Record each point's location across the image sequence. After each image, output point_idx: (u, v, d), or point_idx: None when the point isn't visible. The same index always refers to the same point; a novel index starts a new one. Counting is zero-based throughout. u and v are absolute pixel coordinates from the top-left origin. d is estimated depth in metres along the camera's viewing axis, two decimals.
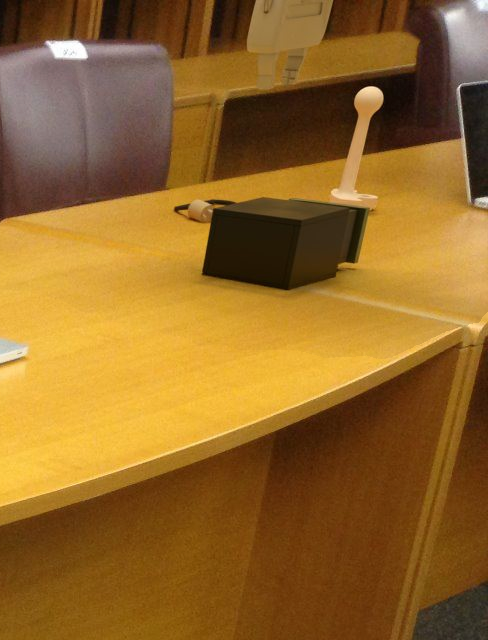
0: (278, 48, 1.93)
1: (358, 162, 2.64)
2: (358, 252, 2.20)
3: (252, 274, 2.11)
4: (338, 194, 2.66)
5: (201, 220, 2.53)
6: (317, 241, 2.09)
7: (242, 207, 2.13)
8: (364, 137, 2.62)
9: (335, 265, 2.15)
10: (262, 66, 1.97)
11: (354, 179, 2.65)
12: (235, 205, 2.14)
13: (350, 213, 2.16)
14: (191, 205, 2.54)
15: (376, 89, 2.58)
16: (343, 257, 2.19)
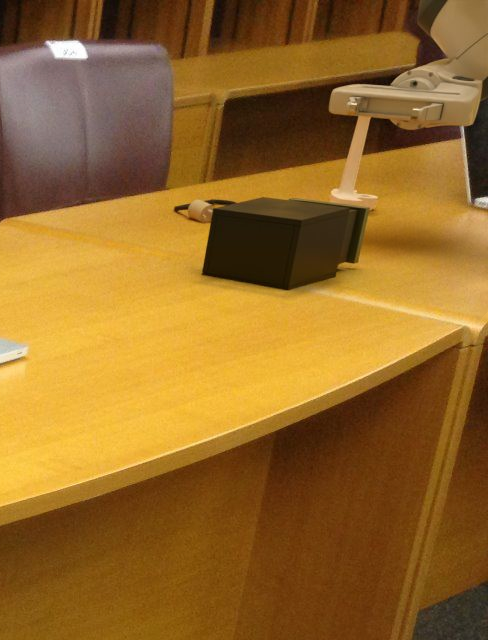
0: (344, 89, 2.33)
1: (358, 162, 2.64)
2: (358, 252, 2.20)
3: (252, 274, 2.11)
4: (338, 194, 2.66)
5: (201, 220, 2.53)
6: (317, 241, 2.09)
7: (242, 207, 2.13)
8: (364, 137, 2.62)
9: (335, 265, 2.15)
10: None
11: (354, 179, 2.65)
12: (235, 205, 2.14)
13: (350, 213, 2.16)
14: (191, 205, 2.54)
15: None
16: (343, 257, 2.19)
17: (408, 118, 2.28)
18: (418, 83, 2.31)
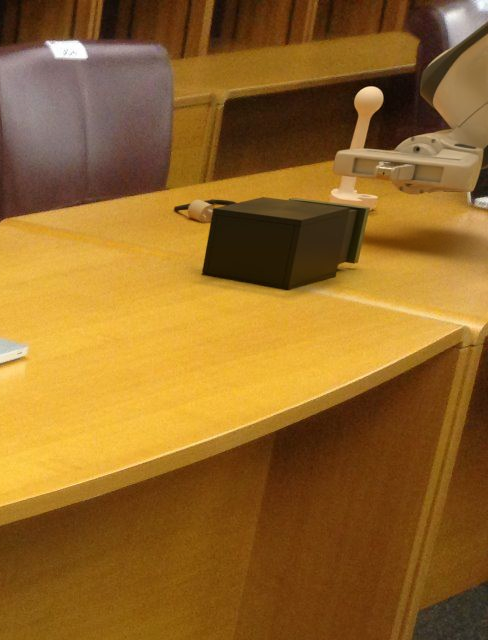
0: (348, 152, 2.39)
1: None
2: (358, 252, 2.20)
3: (252, 274, 2.11)
4: (338, 194, 2.66)
5: (201, 220, 2.53)
6: (317, 241, 2.09)
7: (242, 207, 2.13)
8: (364, 137, 2.62)
9: (335, 265, 2.15)
10: None
11: (354, 179, 2.65)
12: (235, 205, 2.14)
13: (350, 213, 2.16)
14: (191, 205, 2.54)
15: (376, 89, 2.58)
16: (343, 257, 2.19)
17: (409, 181, 2.33)
18: (421, 149, 2.36)
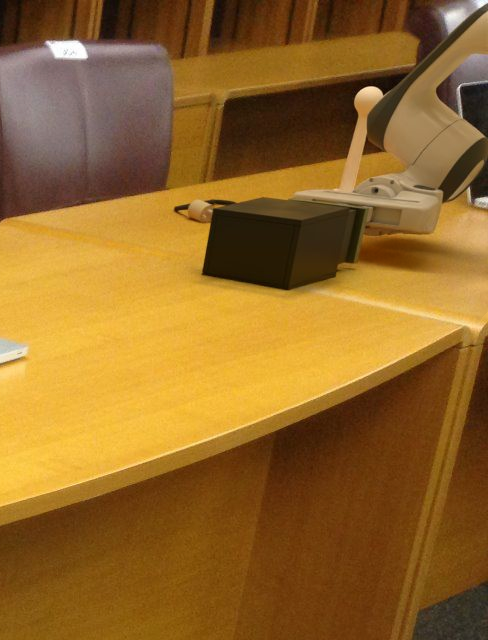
0: (305, 193, 2.33)
1: (358, 162, 2.64)
2: (357, 252, 2.20)
3: (252, 274, 2.11)
4: None
5: (201, 220, 2.53)
6: (317, 241, 2.09)
7: (242, 207, 2.13)
8: (364, 137, 2.62)
9: (335, 265, 2.15)
10: None
11: (354, 179, 2.65)
12: (235, 205, 2.14)
13: (349, 213, 2.16)
14: (191, 205, 2.54)
15: (376, 89, 2.58)
16: (342, 257, 2.19)
17: (367, 223, 2.27)
18: (379, 190, 2.30)
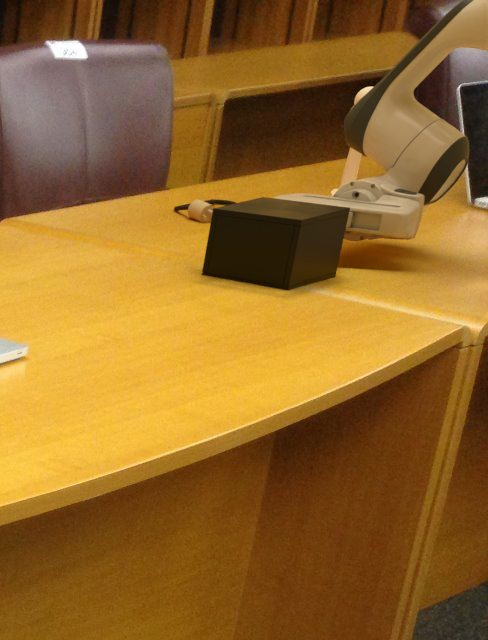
0: (284, 197, 2.29)
1: (358, 162, 2.64)
2: None
3: (252, 274, 2.11)
4: None
5: (201, 220, 2.53)
6: (317, 241, 2.09)
7: (242, 207, 2.13)
8: None
9: (335, 265, 2.15)
10: None
11: (354, 179, 2.65)
12: (235, 205, 2.14)
13: None
14: (191, 205, 2.54)
15: None
16: None
17: (347, 228, 2.23)
18: (360, 194, 2.26)
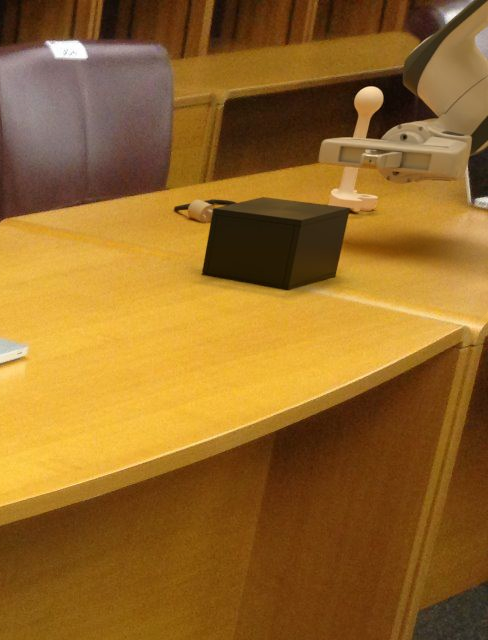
0: (334, 140, 2.34)
1: None
2: None
3: (252, 274, 2.11)
4: (338, 194, 2.66)
5: (201, 220, 2.53)
6: (317, 241, 2.09)
7: (242, 207, 2.13)
8: (364, 137, 2.62)
9: (335, 265, 2.15)
10: None
11: (354, 179, 2.65)
12: (235, 205, 2.14)
13: None
14: (191, 205, 2.54)
15: (376, 89, 2.58)
16: None
17: (396, 169, 2.28)
18: (408, 136, 2.31)
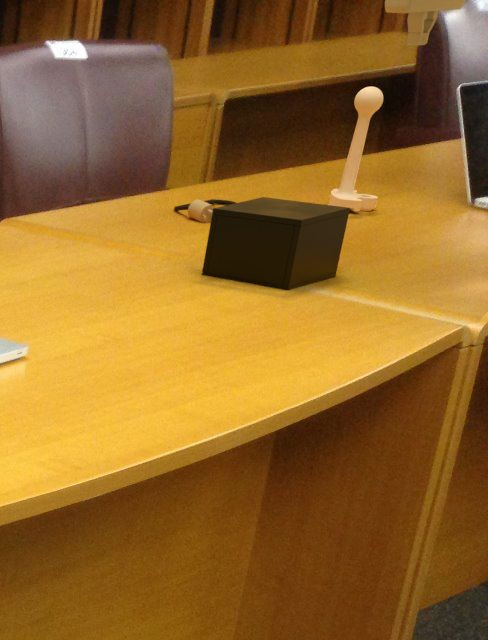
0: (414, 8, 2.15)
1: (358, 162, 2.64)
2: None
3: (252, 274, 2.11)
4: (338, 194, 2.66)
5: (201, 220, 2.53)
6: (317, 241, 2.09)
7: (242, 207, 2.13)
8: (364, 137, 2.62)
9: (335, 265, 2.15)
10: (411, 24, 2.21)
11: (354, 179, 2.65)
12: (235, 205, 2.14)
13: None
14: (191, 205, 2.54)
15: (376, 89, 2.58)
16: None
17: None
18: None
